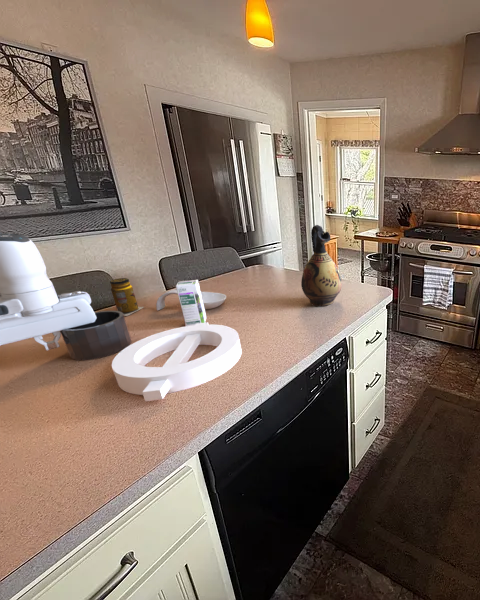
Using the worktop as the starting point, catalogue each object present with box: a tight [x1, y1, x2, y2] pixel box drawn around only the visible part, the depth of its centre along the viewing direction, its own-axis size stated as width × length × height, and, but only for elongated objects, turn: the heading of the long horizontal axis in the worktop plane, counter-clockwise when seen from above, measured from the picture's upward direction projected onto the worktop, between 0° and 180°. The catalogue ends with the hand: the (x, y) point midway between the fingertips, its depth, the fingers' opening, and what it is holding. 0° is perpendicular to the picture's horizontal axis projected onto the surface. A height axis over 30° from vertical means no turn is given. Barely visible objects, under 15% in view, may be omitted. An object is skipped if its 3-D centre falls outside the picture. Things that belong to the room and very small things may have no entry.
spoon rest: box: [155, 288, 227, 311], centre depth 122 cm, size 24×12×7 cm, turn 100°
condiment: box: [109, 277, 145, 317], centre depth 118 cm, size 7×8×12 cm
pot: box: [60, 310, 133, 361], centre depth 93 cm, size 14×14×9 cm
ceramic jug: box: [300, 224, 343, 307], centre depth 125 cm, size 17×15×30 cm
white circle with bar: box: [111, 321, 243, 402], centre depth 87 cm, size 28×28×5 cm
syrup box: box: [175, 279, 207, 326], centre depth 109 cm, size 6×6×14 cm
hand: (53, 348), depth 86 cm, fingers closed
